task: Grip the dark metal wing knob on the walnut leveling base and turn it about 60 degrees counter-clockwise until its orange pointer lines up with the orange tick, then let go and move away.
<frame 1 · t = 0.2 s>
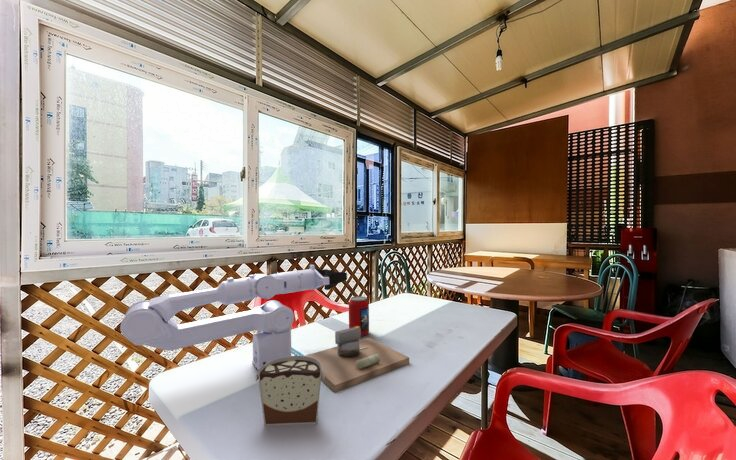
hand: (339, 274, 88), 21 cm above the table, tool horizontal, fingers open, 7 cm apart
beverage can: (359, 334, 98), on the table
leveling base: (354, 362, 76), on the table
food container: (294, 414, 55), on the table
wing knob: (348, 340, 79), point 5 cm above the table, hinge at 0.0°
adjustable wrench: (290, 351, 86), on the table
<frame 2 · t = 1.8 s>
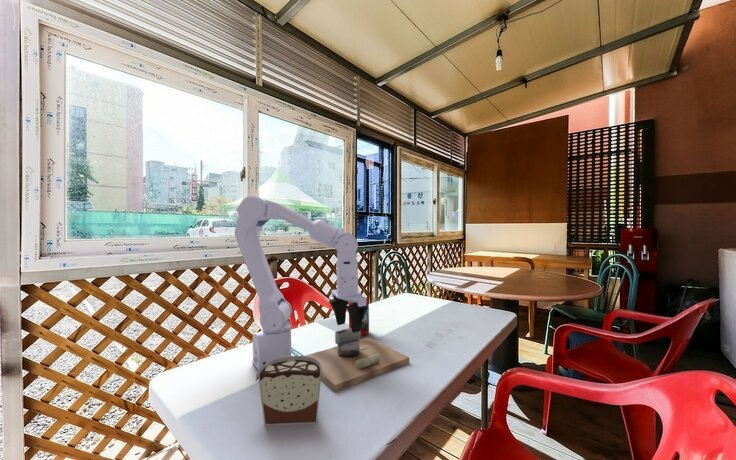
hand: (348, 327, 79), 8 cm above the table, tool pointing down, fingers open, 7 cm apart
nothing on the table moved.
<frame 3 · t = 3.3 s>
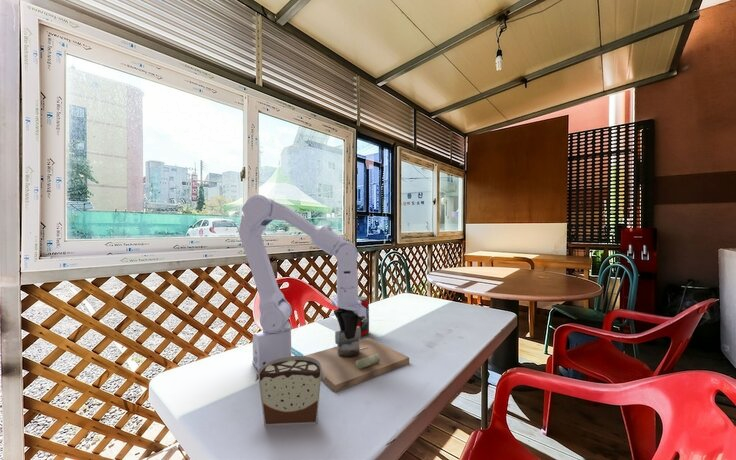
hand: (348, 336, 79), 6 cm above the table, tool pointing down, fingers closed on wing knob, 2 cm apart
wing knob: (348, 340, 79), point 5 cm above the table, hinge at 0.0°, touching gripper
everything else where it was.
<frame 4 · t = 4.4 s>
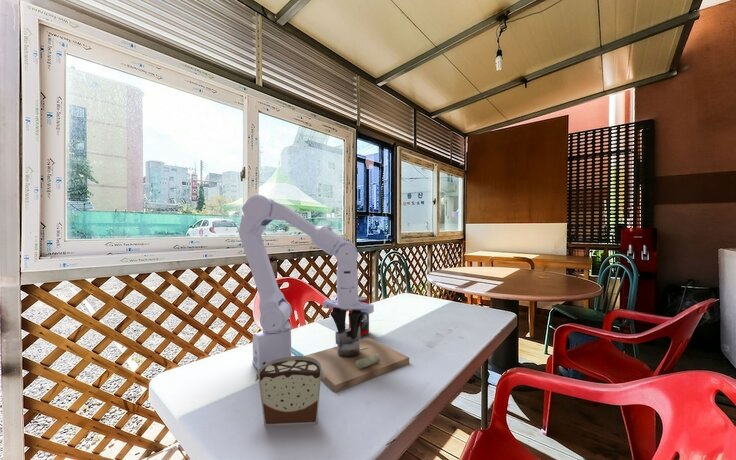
hand: (348, 337, 79), 6 cm above the table, tool pointing down, fingers closed on wing knob, 3 cm apart
wing knob: (348, 340, 79), point 5 cm above the table, hinge at 3.9°, touching gripper
everything else where it was.
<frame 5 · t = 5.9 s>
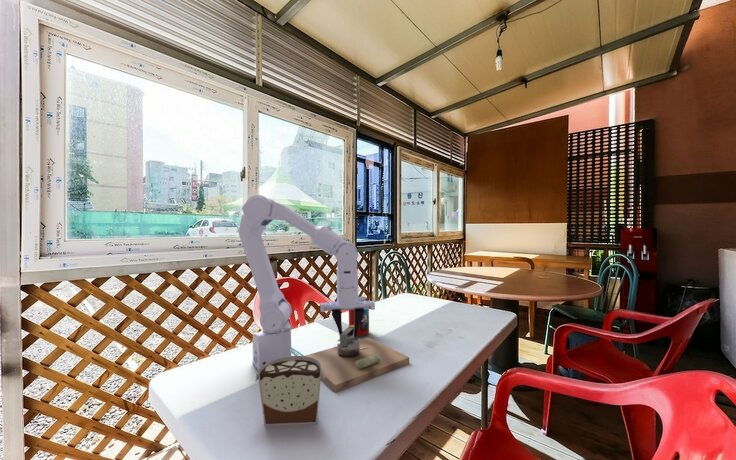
hand: (348, 336, 79), 6 cm above the table, tool pointing down, fingers closed on wing knob, 3 cm apart
wing knob: (348, 340, 79), point 5 cm above the table, hinge at 35.9°, touching gripper
everything else where it was.
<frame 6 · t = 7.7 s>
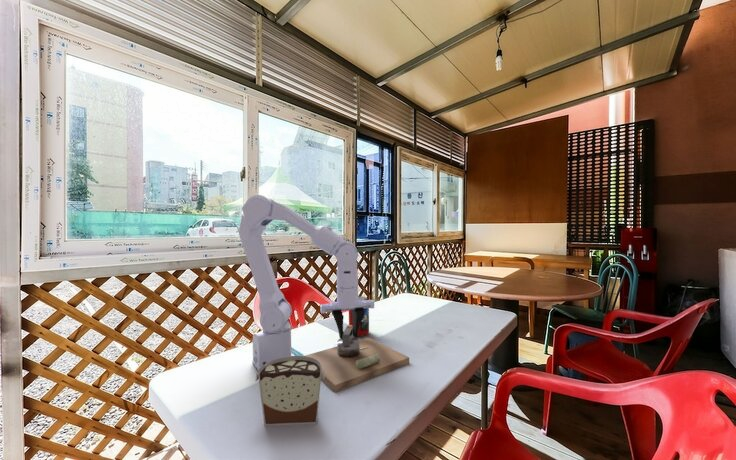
hand: (348, 336, 79), 6 cm above the table, tool pointing down, fingers closed on wing knob, 3 cm apart
wing knob: (348, 340, 79), point 5 cm above the table, hinge at 47.7°, touching gripper
everything else where it was.
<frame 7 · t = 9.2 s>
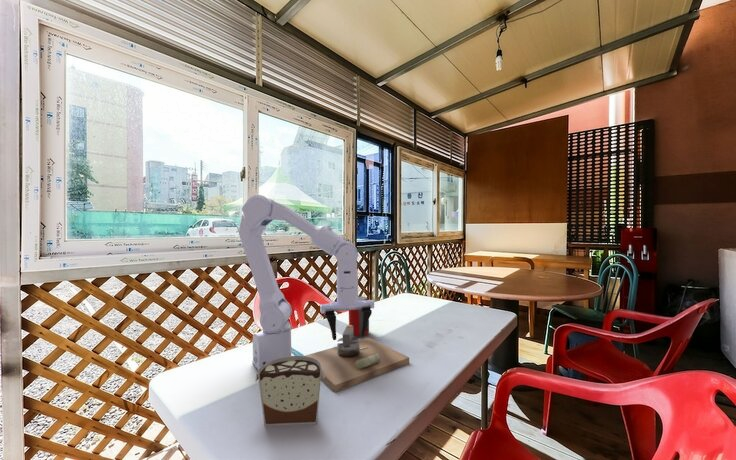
hand: (348, 336, 79), 6 cm above the table, tool pointing down, fingers open, 7 cm apart
wing knob: (348, 340, 79), point 5 cm above the table, hinge at 48.9°
everything else where it was.
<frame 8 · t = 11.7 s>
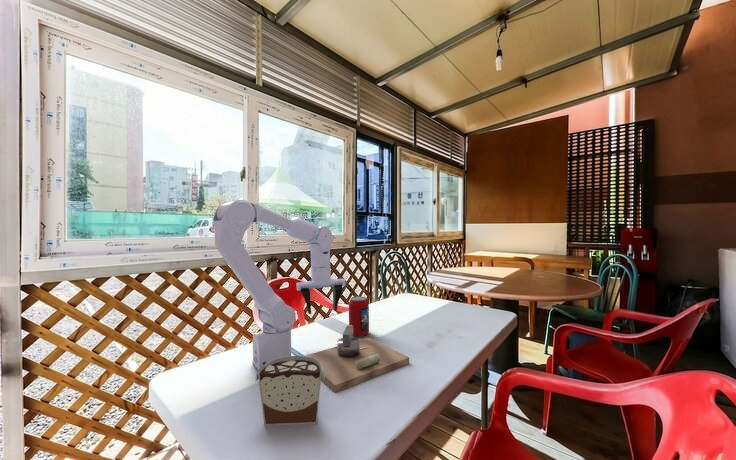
hand: (322, 311, 88), 10 cm above the table, tool pointing down, fingers open, 7 cm apart
nothing on the table moved.
at the end: wing knob at +49° (first picture: +0°); the gripper is holding nothing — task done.
